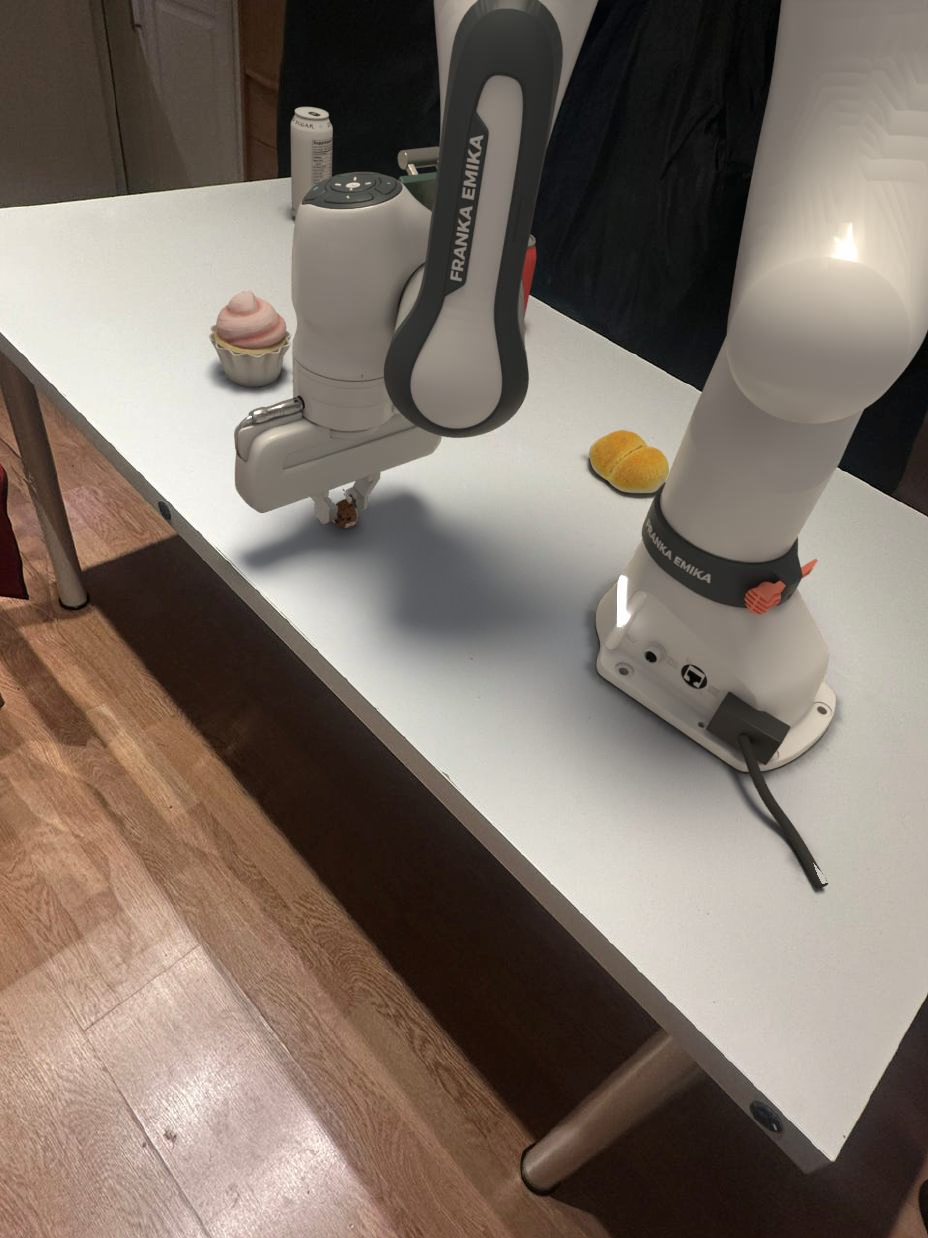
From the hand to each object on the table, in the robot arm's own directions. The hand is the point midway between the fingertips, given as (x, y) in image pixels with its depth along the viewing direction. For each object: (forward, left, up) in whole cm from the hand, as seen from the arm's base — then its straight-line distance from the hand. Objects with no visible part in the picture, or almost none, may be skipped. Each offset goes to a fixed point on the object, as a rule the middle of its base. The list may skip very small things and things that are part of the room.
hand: (341, 512), depth 79 cm
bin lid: (+25, -26, +14) cm, 39 cm away
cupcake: (+28, -6, -2) cm, 29 cm away
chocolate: (0, 0, -2) cm, 2 cm away
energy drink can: (+64, -36, -2) cm, 74 cm away
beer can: (+25, -42, -2) cm, 49 cm away
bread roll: (-8, -33, -2) cm, 34 cm away
